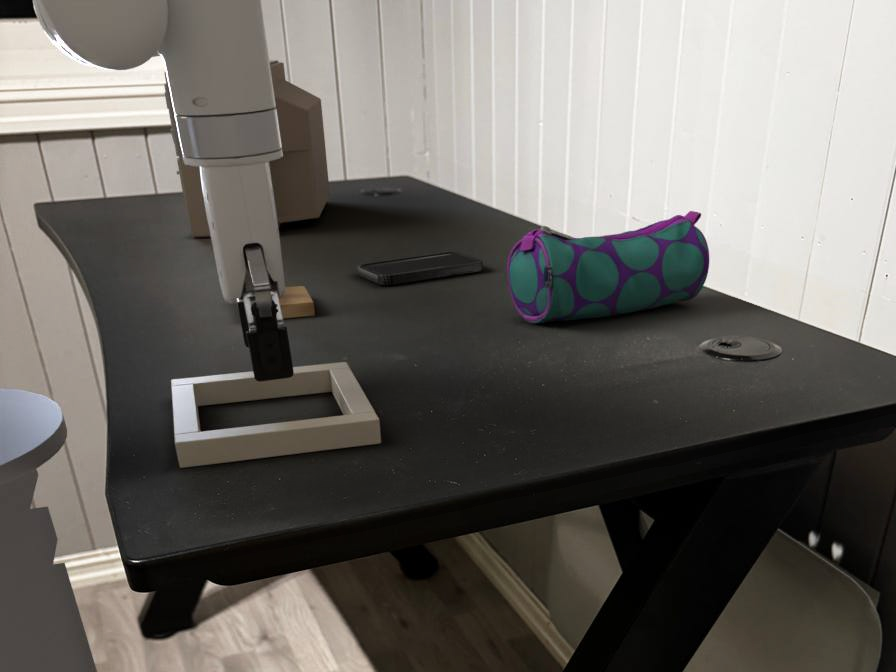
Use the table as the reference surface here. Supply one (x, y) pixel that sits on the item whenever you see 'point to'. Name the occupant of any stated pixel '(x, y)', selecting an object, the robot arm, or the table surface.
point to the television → (292, 175)
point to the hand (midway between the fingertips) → (268, 361)
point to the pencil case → (607, 271)
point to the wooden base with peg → (295, 303)
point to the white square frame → (274, 438)
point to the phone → (419, 268)
